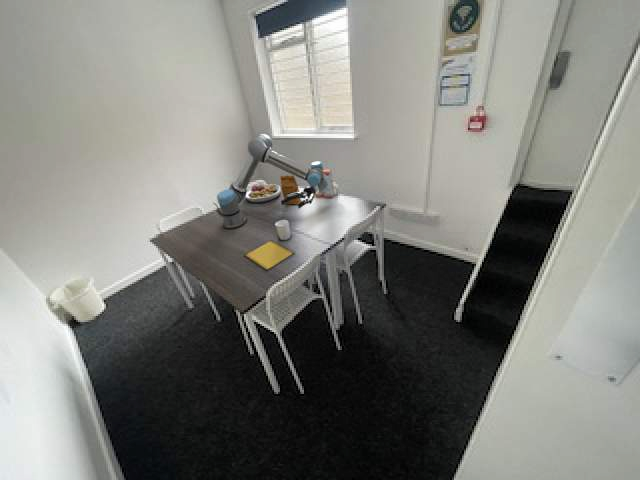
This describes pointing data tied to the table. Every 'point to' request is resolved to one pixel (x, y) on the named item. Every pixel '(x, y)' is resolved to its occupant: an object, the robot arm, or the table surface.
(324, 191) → the cracker box
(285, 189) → the coffee package
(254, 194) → the bowl
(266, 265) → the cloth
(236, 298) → the table surface
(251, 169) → the robot arm
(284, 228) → the white cup
